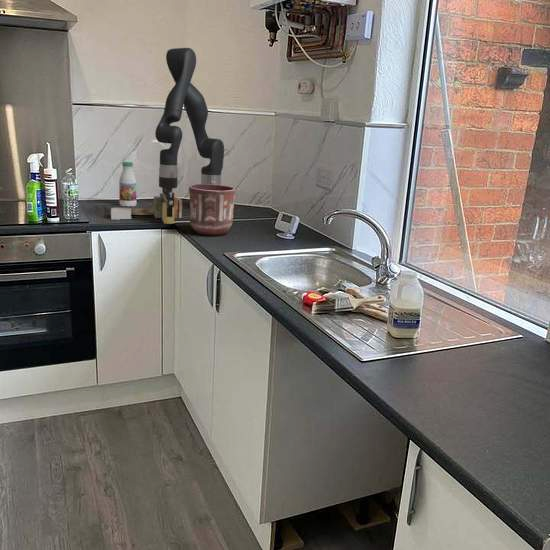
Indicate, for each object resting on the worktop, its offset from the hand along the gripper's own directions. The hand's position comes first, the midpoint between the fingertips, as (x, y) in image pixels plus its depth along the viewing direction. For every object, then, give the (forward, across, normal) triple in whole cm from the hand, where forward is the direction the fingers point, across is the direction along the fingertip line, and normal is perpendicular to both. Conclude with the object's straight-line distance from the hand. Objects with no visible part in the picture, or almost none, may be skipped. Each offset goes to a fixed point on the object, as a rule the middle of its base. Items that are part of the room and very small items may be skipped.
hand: (167, 214), depth 236 cm
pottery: (+3, -20, -14) cm, 24 cm away
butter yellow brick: (+3, 0, 0) cm, 3 cm away
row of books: (+3, +10, +7) cm, 13 cm away
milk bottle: (+3, +38, +12) cm, 40 cm away
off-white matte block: (+4, +10, +18) cm, 20 cm away
